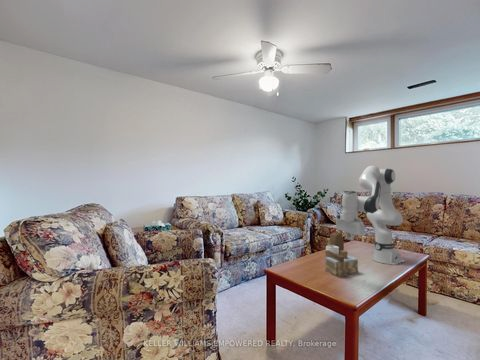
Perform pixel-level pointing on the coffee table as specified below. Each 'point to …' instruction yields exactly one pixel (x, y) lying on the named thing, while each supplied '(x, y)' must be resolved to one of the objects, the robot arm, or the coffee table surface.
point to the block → (337, 240)
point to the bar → (334, 256)
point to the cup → (333, 248)
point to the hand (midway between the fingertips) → (349, 239)
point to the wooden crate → (341, 267)
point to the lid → (344, 254)
